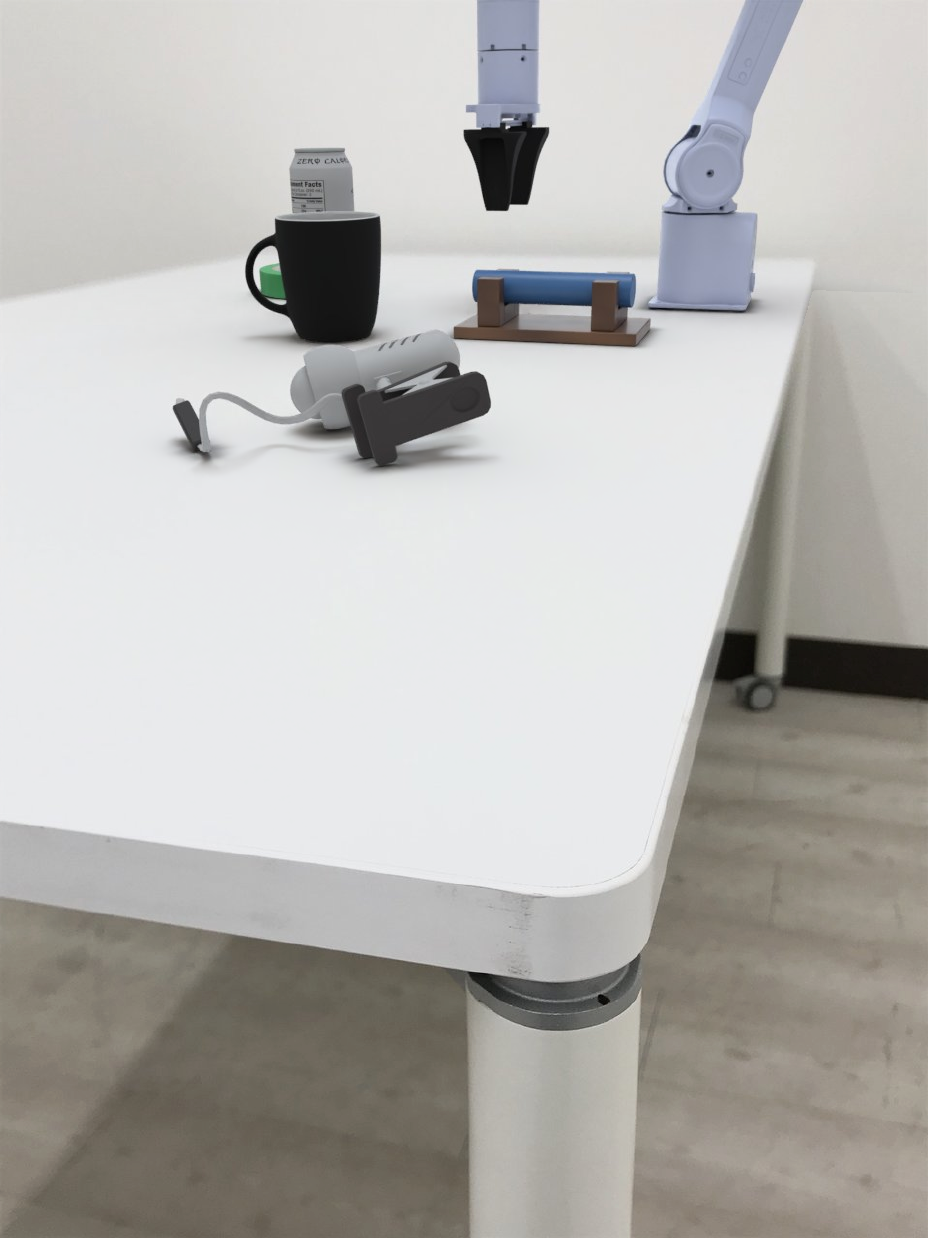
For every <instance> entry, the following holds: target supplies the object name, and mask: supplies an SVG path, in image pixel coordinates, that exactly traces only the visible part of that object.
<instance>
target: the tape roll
mask: <svg viewBox="0 0 928 1238" xmlns="http://www.w3.org/2000/svg"><path fill="white" fill-rule="evenodd" d="M258 273H259V282H260V292H261V293H262V295H263V296H265V297H269V298H275V299H283V300H286V297H285V292H284V287H283V282H282V276H281V270H280V264H279V262H278V263H271V264H267V265H264V266H262V267H259V272H258Z"/></svg>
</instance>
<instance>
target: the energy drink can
mask: <svg viewBox="0 0 928 1238" xmlns="http://www.w3.org/2000/svg"><path fill="white" fill-rule="evenodd" d="M293 151H294V156H293V158H292V161H291V163H290V166H289V168H288V170H289V182H290V184H289V185H290V198H291V199H290V200H291V211H292V212H291V214H293V213H306V212H330V211H353V212H355V198H354V197H355V196H354V195H355V194H354V178H353V176H354V175H353V166H352V164H351V162H350V160H349V159H348V156H347V155H346V153H345V151H346V148H345V147H304V148H303V147H301V148H294V150H293Z"/></svg>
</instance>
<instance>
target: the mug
mask: <svg viewBox="0 0 928 1238" xmlns="http://www.w3.org/2000/svg"><path fill="white" fill-rule="evenodd" d="M380 215H381V214H379V213H376V212H370V211H354V212H353V211H330V212H306V213H286V214H280V215H276V216H275V217H274V230H275V231H274V233H273V234H271V235H268V236H266V237H265V238H262V239H261V240H259V242H257V243H255V245H253V247H252V249H250V251H249V254H248V255H247V257H246V260H245V261H246V262H245V268H244V275H245V281H246V285H247V287H248V290H249V292H250V294H251V295H252V296H253V298H254V300H256V301H257V302H258V303H259V304H260V305H261V306H262V307H263V308H265V309H267V310H269V311H271V312H274V313H277V314H280V315H283V316H285V317H287V319H288V318H289V320H290V322H291V324H292V326H293V329H294V331H295V332H296V334H297V335H298V338H300V339H301V340H303V341H306V342H310V343H321V344H336V343H337V344H339V343H349V342H356V341H360V340H364V339H366V338H368V337H370V336H371V334H372V332H373V330H374V327H375V323H376V319H377V315H378V309H379V298H380V288H381V272H382V271H381V270H382V269H381V267H382V224H381V216H380ZM268 247H274V249H275V250H276V252H277V257H278V263H279V264H280V270H281V276H282V282H283V287H284V292H285V297H286V299H285V303H284V304H279V303H276V302H273V301H271V300H270V299H268V298H267V296H265V295H263V294H262V293H261V290H260V289H259V288H258V285H257V283H256V279H255V275H254V267H255V262H256V259H257V258H258V256H259V255H260V253H261V252H262V251H263V250H265V249H266V248H268Z"/></svg>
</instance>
